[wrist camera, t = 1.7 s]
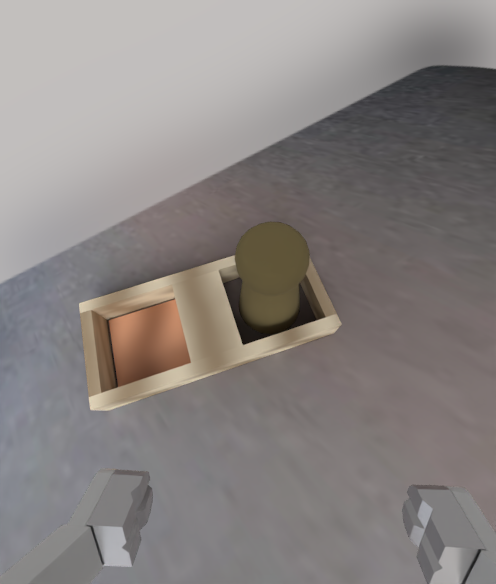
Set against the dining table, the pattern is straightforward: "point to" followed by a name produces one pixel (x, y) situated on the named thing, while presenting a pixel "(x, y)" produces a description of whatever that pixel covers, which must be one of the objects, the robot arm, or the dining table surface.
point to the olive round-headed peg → (271, 275)
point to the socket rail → (180, 333)
